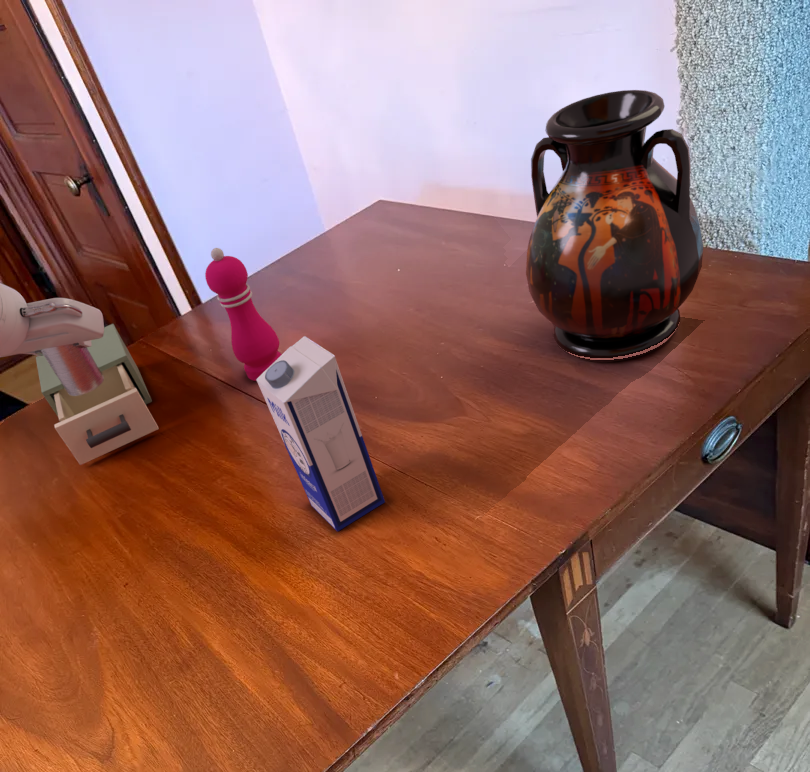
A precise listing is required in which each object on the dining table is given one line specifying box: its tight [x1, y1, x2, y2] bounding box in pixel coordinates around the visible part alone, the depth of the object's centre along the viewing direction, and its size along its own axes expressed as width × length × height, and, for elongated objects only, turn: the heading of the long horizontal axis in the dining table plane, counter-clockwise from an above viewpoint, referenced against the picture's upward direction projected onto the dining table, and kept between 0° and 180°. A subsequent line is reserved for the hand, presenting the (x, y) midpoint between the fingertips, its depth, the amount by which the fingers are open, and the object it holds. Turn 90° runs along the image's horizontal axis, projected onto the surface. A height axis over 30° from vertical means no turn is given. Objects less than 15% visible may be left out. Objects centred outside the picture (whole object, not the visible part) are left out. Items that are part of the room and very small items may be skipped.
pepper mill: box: [204, 247, 282, 382], centre depth 112 cm, size 7×7×20 cm
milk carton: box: [256, 335, 386, 532], centre depth 82 cm, size 7×7×20 cm
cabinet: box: [35, 323, 153, 419], centre depth 121 cm, size 15×14×9 cm
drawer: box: [53, 363, 159, 466], centre depth 111 cm, size 18×12×7 cm
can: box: [41, 343, 104, 396], centre depth 105 cm, size 6×6×12 cm
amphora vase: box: [525, 89, 704, 363], centre depth 92 cm, size 22×22×28 cm
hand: (65, 346), depth 106 cm, fingers closed on can, 5 cm apart
